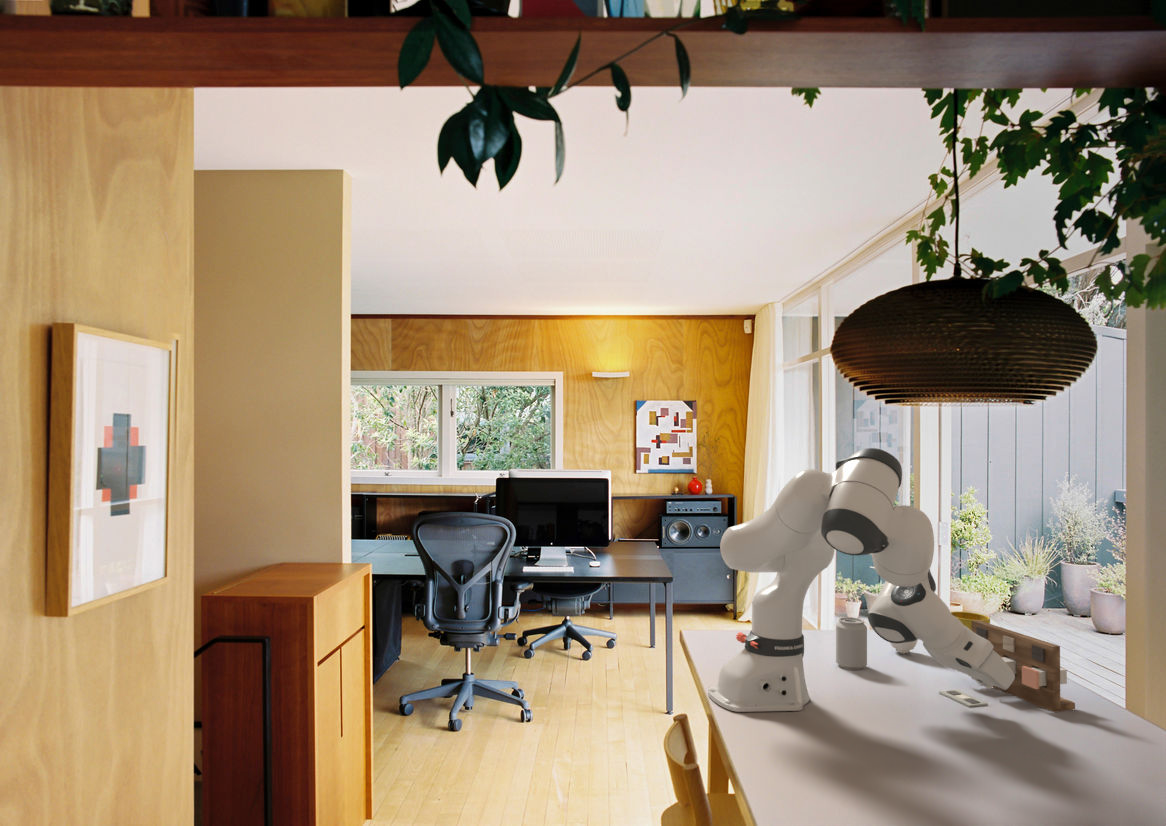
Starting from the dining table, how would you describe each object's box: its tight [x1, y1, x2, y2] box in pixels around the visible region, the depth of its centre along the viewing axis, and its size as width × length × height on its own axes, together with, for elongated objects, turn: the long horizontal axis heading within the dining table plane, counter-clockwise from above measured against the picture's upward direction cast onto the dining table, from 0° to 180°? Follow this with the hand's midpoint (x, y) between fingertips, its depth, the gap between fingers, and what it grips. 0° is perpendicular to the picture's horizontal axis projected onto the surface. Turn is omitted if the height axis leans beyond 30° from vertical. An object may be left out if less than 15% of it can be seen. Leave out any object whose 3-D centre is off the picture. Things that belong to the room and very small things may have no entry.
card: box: [938, 689, 989, 708], centre depth 171 cm, size 5×9×1 cm, turn 16°
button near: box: [1022, 666, 1068, 689], centre depth 168 cm, size 9×4×4 cm, turn 106°
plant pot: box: [950, 610, 991, 631], centre depth 209 cm, size 10×10×10 cm
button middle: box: [1002, 657, 1017, 674], centre depth 174 cm, size 9×4×4 cm, turn 106°
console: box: [971, 620, 1076, 713], centre depth 176 cm, size 6×23×14 cm, turn 16°
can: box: [835, 616, 868, 671], centre depth 195 cm, size 8×8×12 cm
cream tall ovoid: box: [889, 639, 919, 655], centre depth 207 cm, size 8×8×18 cm
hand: (987, 684), depth 164 cm, fingers closed
